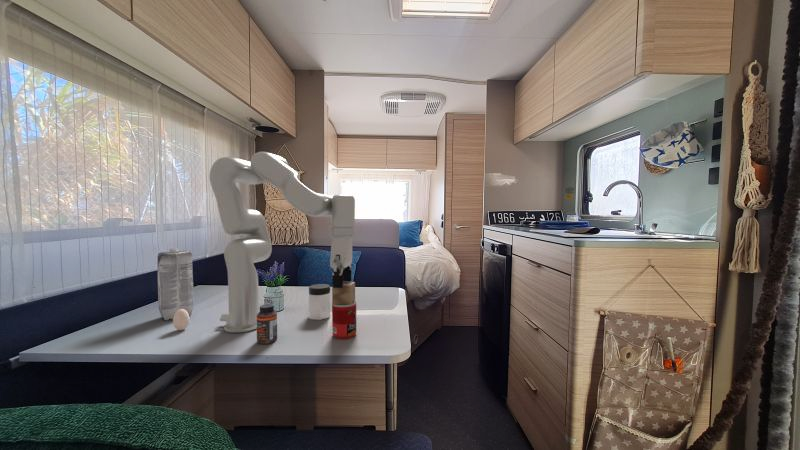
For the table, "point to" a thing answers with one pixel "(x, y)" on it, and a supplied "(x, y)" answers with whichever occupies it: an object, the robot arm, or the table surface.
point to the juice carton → (175, 282)
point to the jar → (319, 301)
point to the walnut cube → (344, 294)
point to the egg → (181, 319)
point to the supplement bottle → (266, 324)
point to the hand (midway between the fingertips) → (342, 284)
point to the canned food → (344, 320)
